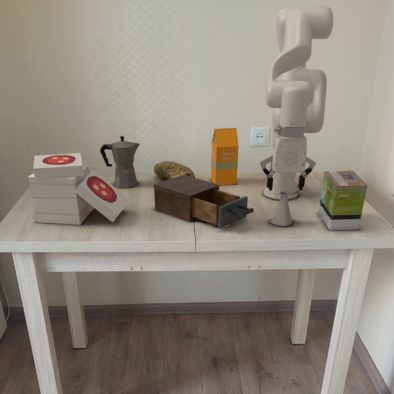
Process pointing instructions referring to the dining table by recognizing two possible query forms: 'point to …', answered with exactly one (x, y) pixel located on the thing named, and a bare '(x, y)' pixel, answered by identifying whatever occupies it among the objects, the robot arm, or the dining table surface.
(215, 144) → the orange juice
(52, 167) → the pizza boxes
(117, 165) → the coffeepot
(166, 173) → the sponge
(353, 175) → the tea box
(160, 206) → the cabinet
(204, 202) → the drawer
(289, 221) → the flask
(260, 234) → the dining table surface
